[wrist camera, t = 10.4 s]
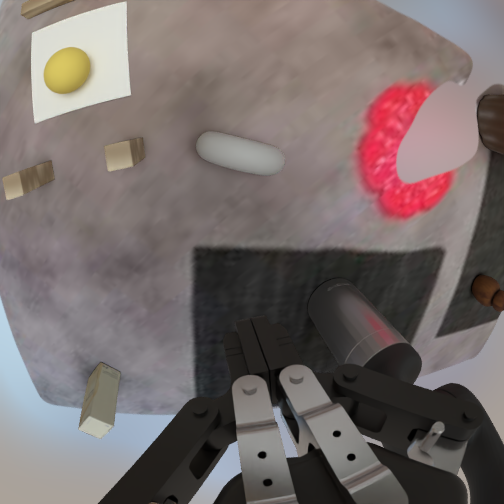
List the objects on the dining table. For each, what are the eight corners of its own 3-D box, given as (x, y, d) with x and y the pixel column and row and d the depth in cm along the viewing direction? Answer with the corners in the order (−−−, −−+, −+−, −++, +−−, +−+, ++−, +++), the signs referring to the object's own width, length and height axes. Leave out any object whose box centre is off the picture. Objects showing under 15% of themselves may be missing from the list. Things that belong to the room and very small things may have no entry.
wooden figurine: (479, 290, 61) (517, 319, 47) (466, 297, 60) (505, 329, 47) (484, 268, 58) (525, 296, 44) (472, 274, 57) (514, 305, 44)
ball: (78, 46, 21) (88, 35, 24) (31, 67, 20) (45, 53, 24) (91, 91, 26) (98, 74, 29) (46, 109, 25) (58, 89, 28)
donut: (191, 154, 36) (193, 163, 27) (198, 127, 34) (202, 127, 25) (267, 171, 38) (292, 185, 29) (274, 146, 37) (302, 153, 28)
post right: (145, 157, 34) (133, 166, 26) (125, 161, 34) (108, 171, 26) (142, 137, 33) (129, 140, 25) (122, 141, 33) (104, 146, 25)
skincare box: (100, 360, 45) (88, 414, 34) (122, 372, 47) (115, 426, 36) (88, 378, 46) (76, 429, 35) (108, 389, 48) (100, 440, 37)
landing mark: (131, 95, 31) (130, 95, 31) (35, 123, 29) (34, 123, 28) (126, 1, 25) (126, 1, 25) (32, 33, 23) (32, 32, 23)
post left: (54, 179, 32) (23, 194, 24) (39, 183, 32) (7, 200, 24) (51, 160, 31) (18, 171, 23) (36, 165, 31) (2, 177, 23)
